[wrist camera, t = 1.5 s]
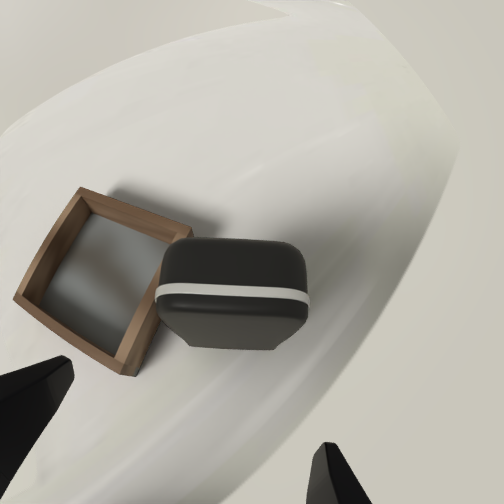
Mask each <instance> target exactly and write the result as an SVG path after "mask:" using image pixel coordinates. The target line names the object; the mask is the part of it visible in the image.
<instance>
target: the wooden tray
mask: <svg viewBox="0 0 504 504" xmlns="http://www.w3.org/2000/svg"><path fill="white" fill-rule="evenodd" d="M187 237H194V236H193V231H192V227H189V226H187V225H184V224H181V223H179V222H176V221H173V220H170V219H168V218H165V217H162V216H159V215H157V214H154V213H151V212H148V211H146V210H143V209H140V208H138V207H135V206H132V205H129V204H127V203H124V202H121V201H118V200H116V199H113V198H110V197H107V196H105V195H102V194H99V193H96V192H94V191H91V190H88V189H85V188H83V187H80V188H79V189H78V190H77V192H76V193H75V195H74V196H73V197H72V199H71V200H70V202H69V203H68V204H67V206H66V207H65V209H64V210H63V212H62V213H61V215H60V216H59V218H58V219H57V221H56V222H55V224H54V225H53V227H52V229H51V230H50V232H49V233H48V235H47V237H46V238H45V240H44V242H43V243H42V245H41V247H40V248H39V250H38V252H37V254H36V255H35V257H34V259H33V261H32V262H31V264H30V266H29V268H28V270H27V272H26V274H25V276H24V277H23V279H22V281H21V283H20V285H19V287H18V289H17V291H16V294H15V296H14V298H13V300H14V301H15V302H16V303H17V304H18V305H19V306H21V307H22V308H23V309H24V310H26V311H27V312H28V313H29V314H31V315H32V316H33V317H34V318H36V319H37V320H38V321H39V322H41V323H42V324H43V325H45V326H46V327H47V328H49V329H50V330H51V331H53V332H54V333H56V334H57V335H58V336H60V337H61V338H63V339H64V340H65V341H67V342H68V343H70V344H71V345H73V346H74V347H76V348H77V349H79V350H80V351H82V352H83V353H85V354H86V355H88V356H90V357H91V358H93V359H94V360H96V361H98V362H99V363H101V364H102V365H104V366H106V367H107V368H109V369H111V370H113V371H114V372H116V373H118V374H120V375H126V376H133V377H136V375H137V373H138V371H139V368H140V366H141V364H142V361H143V359H144V357H145V355H146V352H147V350H148V348H149V346H150V344H151V341H152V339H153V337H154V335H155V333H156V331H157V328H158V326H159V324H160V322H161V319H160V317H159V316H158V314H157V311H156V302H155V292H156V289H157V288H158V285H159V278H160V271H161V264H162V260H163V256H164V253H165V252H166V250H167V248H168V247H169V246H170V244H171V243H173V242H175V241H177V240H179V239H181V238H187Z"/></svg>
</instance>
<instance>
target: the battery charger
mask: <svg viewBox="0 0 504 504" xmlns="http://www.w3.org/2000/svg"><path fill="white" fill-rule="evenodd" d="M155 302H156V311H157V314H158V316H159V317H160V319H161V320H162V321H163V322H164V323H165V324H166V325H167V326H168V327H169V328H170V329H171V330H172V331H173V332H175V333H176V334H177V335H178V336H180V337H181V338H182V339H183V340H185V342H186V343H187V344H188V345H189V346H192V347H205V348H220V349H242V350H274V349H275V348H276V347H277V346H278V345H279V344H280V343H282V342H283V341H285V340H286V339H288V338H289V337H291V336H292V335H293V334H294V333H296V332H297V331H298V330H299V329H300V328H301V327H302V326H303V325H304V324H305V322H306V320H307V318H308V311H309V308H310V298H309V295H308V293H307V273H306V265H305V260H304V258H303V256H302V254H301V253H300V251H299V250H298V249H297V248H295V247H294V246H292V245H291V244H288V243H284V242H277V241H265V240H248V239H230V238H201V237H187V238H181V239H179V240H177V241H175V242H173V243H171V244H170V246H169V247H168V248H167V250H166V252H165V253H164V256H163V260H162V264H161V271H160V278H159V285H158V288H157V289H156V292H155Z"/></svg>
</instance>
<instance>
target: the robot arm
mask: <svg viewBox="0 0 504 504" xmlns="http://www.w3.org/2000/svg"><path fill="white" fill-rule="evenodd" d="M74 376H75V375H74V370H73V365H72V361H71V360H70V359H69V358H67V357H65V356H63V355H61V356H57V357H54V358H52V359H49V360H46V361H43V362H40V363H37V364H34V365H31V366H28V367H25V368H22V369H19V370H16V371H13V372H10V373H7V374H3V375H0V499H1V498H2V496H3V494H4V492H5V491H6V489H7V487H8V485H9V484H10V481H11V480H12V479H13V477H14V475H15V474H16V472H17V470H18V469H19V467H20V466H21V464H22V462H23V461H24V459H25V458H26V456H27V455H28V453H29V451H30V450H31V448H32V447H33V445H34V444H35V442H36V441H37V439H38V438H39V436H40V435H41V433H42V432H43V430H44V429H45V427H46V426H47V425H48V423H49V422H50V420H51V419H52V417H53V416H54V414H55V413H56V411H57V410H58V408H59V406H60V404H61V403H62V401H63V399H64V397H65V395H66V393H67V391H68V390H69V388H70V386H71V384H72V382H73V380H74ZM306 504H372V503H371V501H370V500H369V498H368V496H367V495H366V493H365V491H364V490H363V488H362V486H361V485H360V483H359V482H358V480H357V478H356V476H355V475H354V473H353V471H352V470H351V468H350V466H349V465H348V463H347V461H346V459H345V458H344V456H343V454H342V453H341V451H340V449H339V448H338V446H337V445H336V444H335V443H331V442H324V443H323V444H322V445H321V446H320V447H319V449H318V450H317V451H316V453H315V454H314V456H313V461H312V467H311V473H310V479H309V485H308V490H307V499H306Z"/></svg>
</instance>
